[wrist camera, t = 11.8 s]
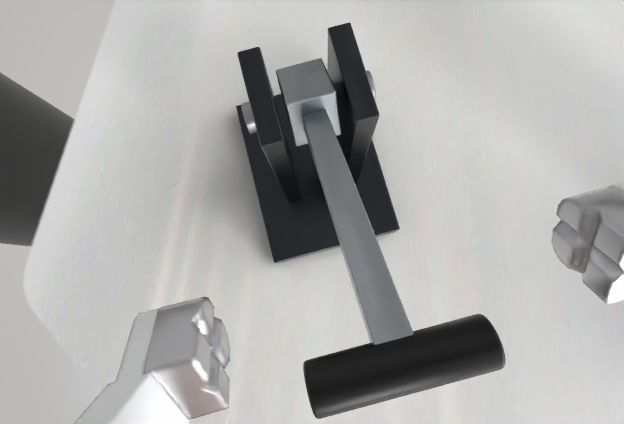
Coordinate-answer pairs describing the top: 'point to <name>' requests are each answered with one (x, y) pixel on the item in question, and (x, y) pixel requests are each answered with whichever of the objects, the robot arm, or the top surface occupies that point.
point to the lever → (372, 281)
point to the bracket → (298, 159)
